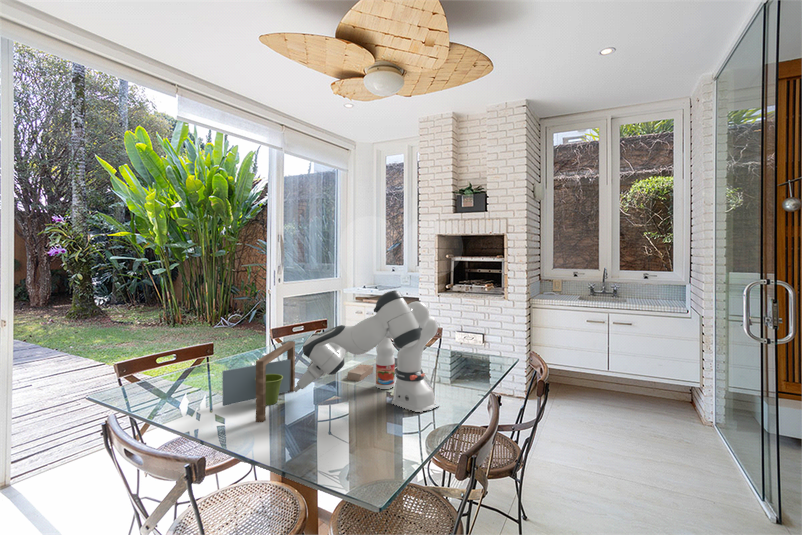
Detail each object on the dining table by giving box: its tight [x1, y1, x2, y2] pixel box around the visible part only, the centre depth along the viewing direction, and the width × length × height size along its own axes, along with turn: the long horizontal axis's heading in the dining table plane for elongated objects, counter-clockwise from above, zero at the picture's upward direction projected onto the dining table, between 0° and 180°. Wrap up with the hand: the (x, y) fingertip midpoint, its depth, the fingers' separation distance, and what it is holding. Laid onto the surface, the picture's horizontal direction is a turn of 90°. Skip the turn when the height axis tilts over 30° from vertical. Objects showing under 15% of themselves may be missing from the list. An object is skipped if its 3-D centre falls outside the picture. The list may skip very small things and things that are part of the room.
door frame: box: [255, 340, 296, 423], centre depth 168 cm, size 3×36×24 cm, turn 176°
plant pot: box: [255, 374, 283, 406], centre depth 171 cm, size 12×12×11 cm
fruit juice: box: [375, 337, 396, 390], centre depth 193 cm, size 9×9×28 cm
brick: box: [346, 364, 374, 382], centre depth 210 cm, size 16×8×5 cm, turn 160°
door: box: [221, 359, 291, 407], centre depth 175 cm, size 3×30×15 cm, turn 131°
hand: (298, 386), depth 171 cm, fingers open, 8 cm apart
